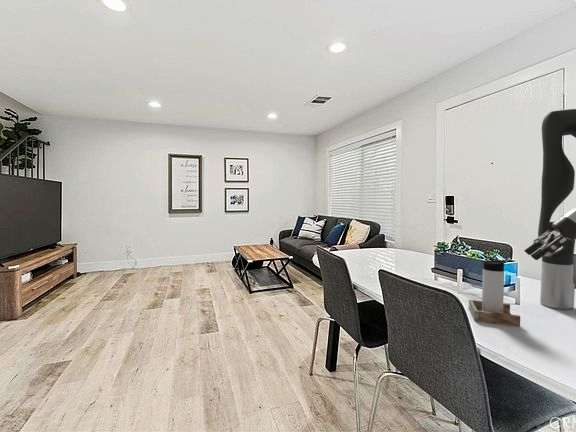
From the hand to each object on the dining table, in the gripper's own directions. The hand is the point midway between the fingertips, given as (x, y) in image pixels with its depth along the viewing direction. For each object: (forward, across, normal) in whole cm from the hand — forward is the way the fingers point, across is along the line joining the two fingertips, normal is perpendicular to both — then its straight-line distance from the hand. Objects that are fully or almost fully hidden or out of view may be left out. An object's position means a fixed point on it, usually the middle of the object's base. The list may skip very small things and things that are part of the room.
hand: (529, 255), depth 102 cm
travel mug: (+23, +2, +8) cm, 25 cm away
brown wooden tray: (+24, +2, +9) cm, 25 cm away
